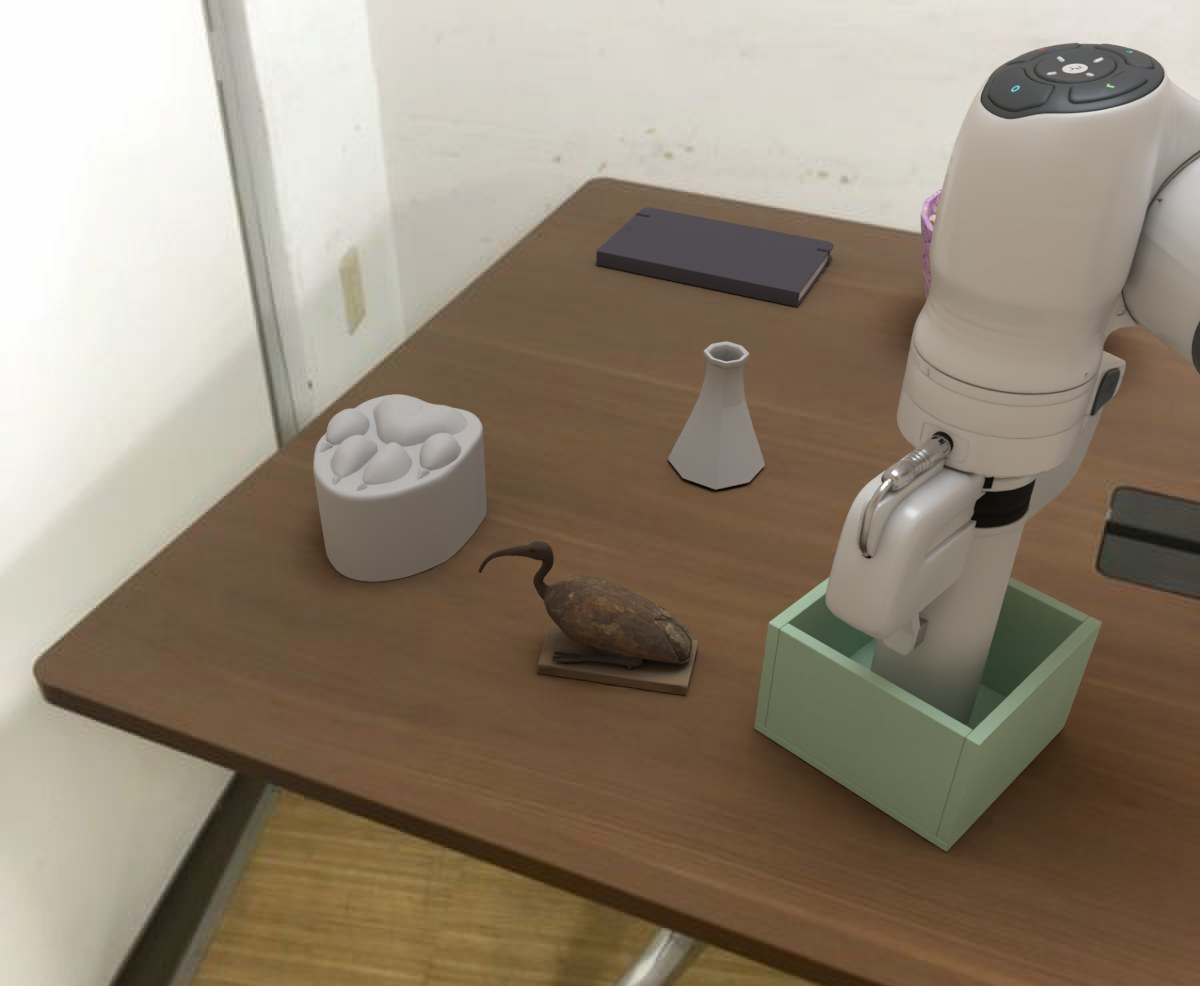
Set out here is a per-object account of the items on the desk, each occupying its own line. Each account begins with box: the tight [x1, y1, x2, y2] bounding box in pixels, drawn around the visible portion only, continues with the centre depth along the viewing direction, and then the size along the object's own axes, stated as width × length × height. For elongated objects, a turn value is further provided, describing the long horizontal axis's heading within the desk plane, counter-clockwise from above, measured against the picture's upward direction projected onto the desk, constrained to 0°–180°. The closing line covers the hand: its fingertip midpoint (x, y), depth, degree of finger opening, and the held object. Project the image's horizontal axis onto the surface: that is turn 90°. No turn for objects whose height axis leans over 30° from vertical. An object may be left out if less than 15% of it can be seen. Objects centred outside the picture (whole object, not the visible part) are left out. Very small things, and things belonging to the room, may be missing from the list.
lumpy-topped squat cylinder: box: [312, 393, 488, 582], centre depth 88 cm, size 10×13×9 cm
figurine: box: [477, 540, 699, 696], centre depth 78 cm, size 14×4×9 cm, turn 79°
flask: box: [667, 341, 766, 491], centre depth 95 cm, size 7×7×10 cm
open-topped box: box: [753, 576, 1103, 852], centre depth 74 cm, size 14×14×9 cm
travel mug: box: [870, 477, 1036, 727], centre depth 69 cm, size 6×7×20 cm
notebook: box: [595, 206, 834, 308], centre depth 127 cm, size 13×2×21 cm
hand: (938, 613), depth 70 cm, fingers closed on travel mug, 6 cm apart
